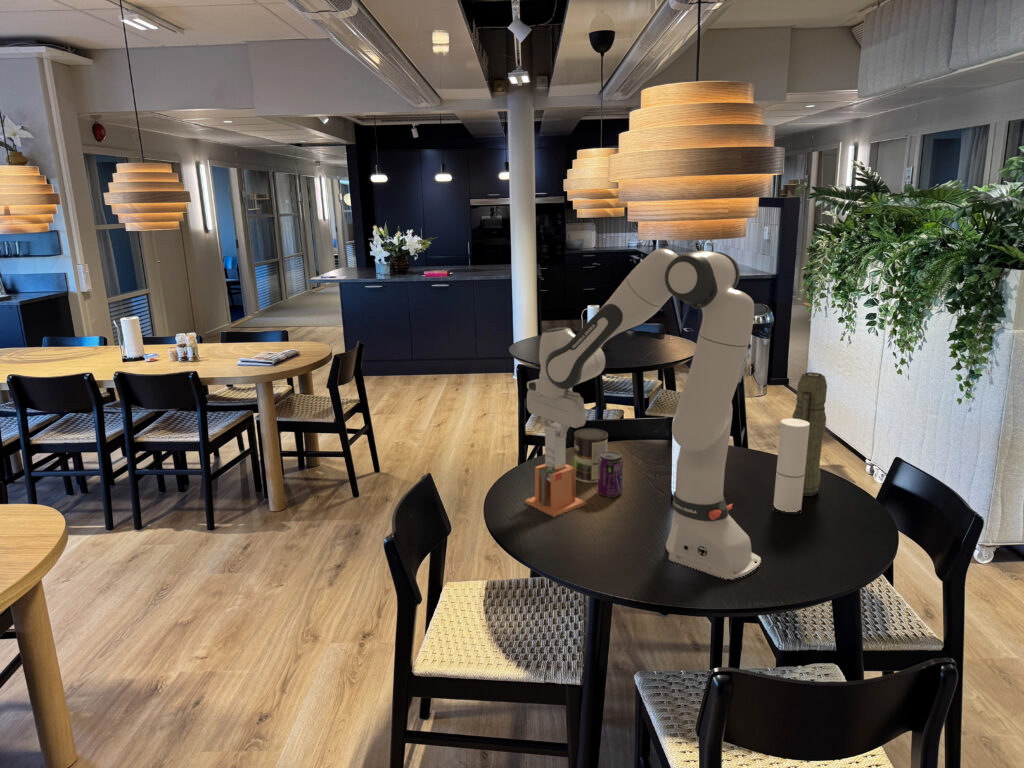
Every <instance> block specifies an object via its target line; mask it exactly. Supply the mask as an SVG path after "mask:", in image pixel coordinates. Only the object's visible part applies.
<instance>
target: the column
mask: <svg viewBox="0 0 1024 768" xmlns="http://www.w3.org/2000/svg"><path fill="white" fill-rule="evenodd" d="M561 429H562V427H561V423H558V422H552V423H550V424H548V425H545V427H544V443H545V444H544V461H545V462H544V464H545V470H546V471H548V472H549V477H548V478H547V481H549V482H551V473H554V472H557V471H560V470H563V469H566V464H567V463H566V461H567V460H566V459H567V458H566V457H567V454H566V453H567V452H566V448H567V446H566V444H567V439H566V438H567V437H566V438H564V439H562V438H559V437H558V432H559V431H561Z"/></svg>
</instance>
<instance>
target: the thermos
mask: <svg viewBox="0 0 1024 768" xmlns="http://www.w3.org/2000/svg"><path fill="white" fill-rule="evenodd" d="M796 389H797V390H796V399H795V400H796V404H795V409H794V410H793V413H792V417H791V418H792V419H801V420H805V421H807V422H809V423H810V425H809V436H808V446H807V456H806V466H805V476H804V486H803V493H813V492H816V491H818V492H819V487H820V484H821V476H822V475H821V469H820V466H821V465H820V462H821V454H822V443H823V438H824V436H825V433H826V425H827V424H826V423H827V415H826V411H825V410H826V407H825V403H826V401H827V400H826V399H827V390H828V383H827V379H826V376H825V375H823V374H822V373H819V372H805V373H802V374H801V376H800V377H799V380H798V382H797V388H796Z"/></svg>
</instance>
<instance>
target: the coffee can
mask: <svg viewBox="0 0 1024 768" xmlns="http://www.w3.org/2000/svg"><path fill="white" fill-rule="evenodd" d="M573 436H574V437H573V438H574V439H573V440H574V441H573V442H574V443H573V445H574V449H573V450H574V451H573V467H575V468H576V480H577V481H579V482H583V483H588V484H589V483H590V484H593V483H594V484H595V483H596V482H597V483H598V460H599V458H600V454H601V453H602V452H607V451H608V438H609V433H608V432H607V431H605V430H603V429H599V428H591V427H590V428H588V427H587V428H580V429H577V430H575V431H574V432H573Z"/></svg>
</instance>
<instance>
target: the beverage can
mask: <svg viewBox="0 0 1024 768" xmlns="http://www.w3.org/2000/svg"><path fill="white" fill-rule="evenodd" d="M623 473H624V460H623V455H622V453H620V452H617V451H613V450H612V451H609V450H607V452H602V453H601V454H600V458H599V460H598V482H597V492H598V494H600V495H601V496H603V497H606V496H607V497H606V498H614V496H615V497H617V496H620V495H621V494H623V480H624V479H623V478H624V477H623V476H624V475H623Z"/></svg>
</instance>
